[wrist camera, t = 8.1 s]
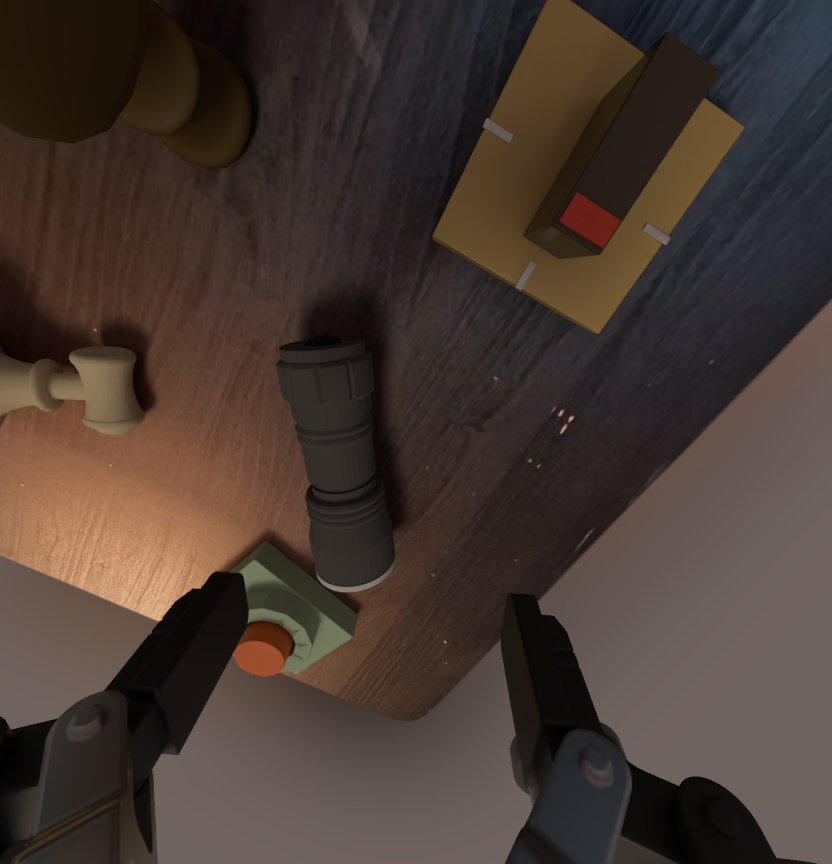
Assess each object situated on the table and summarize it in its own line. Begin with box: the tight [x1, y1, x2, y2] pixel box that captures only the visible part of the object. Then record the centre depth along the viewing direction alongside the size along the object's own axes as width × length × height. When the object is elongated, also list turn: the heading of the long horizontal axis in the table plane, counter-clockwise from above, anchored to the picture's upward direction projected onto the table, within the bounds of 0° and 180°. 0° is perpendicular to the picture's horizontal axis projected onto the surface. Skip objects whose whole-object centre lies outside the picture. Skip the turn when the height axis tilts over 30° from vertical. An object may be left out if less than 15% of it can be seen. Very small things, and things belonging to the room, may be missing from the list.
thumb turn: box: [523, 32, 720, 259], centre depth 15 cm, size 6×2×5 cm, turn 152°
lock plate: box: [433, 0, 744, 334], centre depth 19 cm, size 10×10×3 cm
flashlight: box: [276, 336, 396, 592], centre depth 24 cm, size 15×5×5 cm, turn 4°
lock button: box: [234, 621, 293, 676], centre depth 28 cm, size 4×4×2 cm
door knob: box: [0, 345, 145, 435], centre depth 23 cm, size 10×8×8 cm
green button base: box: [229, 540, 358, 675], centre depth 30 cm, size 10×7×4 cm
